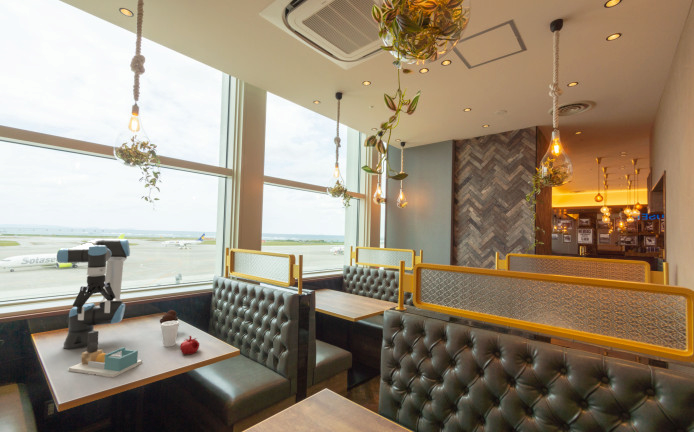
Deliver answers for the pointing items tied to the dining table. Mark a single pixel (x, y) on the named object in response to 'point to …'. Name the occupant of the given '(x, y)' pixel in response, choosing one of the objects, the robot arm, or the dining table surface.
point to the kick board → (99, 368)
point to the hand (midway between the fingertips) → (94, 316)
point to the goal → (120, 359)
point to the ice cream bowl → (169, 317)
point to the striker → (91, 348)
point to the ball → (101, 358)
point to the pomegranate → (189, 346)
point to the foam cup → (169, 332)
